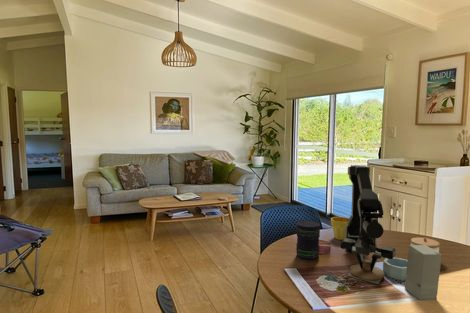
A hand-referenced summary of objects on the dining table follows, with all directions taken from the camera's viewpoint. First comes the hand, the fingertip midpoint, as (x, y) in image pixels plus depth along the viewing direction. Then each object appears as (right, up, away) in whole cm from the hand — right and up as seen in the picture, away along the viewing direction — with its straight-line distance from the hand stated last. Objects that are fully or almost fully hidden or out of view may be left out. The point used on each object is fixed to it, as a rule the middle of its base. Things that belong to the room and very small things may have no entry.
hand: (366, 269), depth 126 cm
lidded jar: (+31, -1, +16) cm, 35 cm away
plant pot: (+4, +1, +43) cm, 43 cm away
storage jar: (-19, -1, +18) cm, 26 cm away
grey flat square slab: (0, -2, 0) cm, 2 cm away
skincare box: (+13, -3, -15) cm, 20 cm away
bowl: (+12, -2, +1) cm, 13 cm away
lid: (0, -1, 0) cm, 1 cm away
